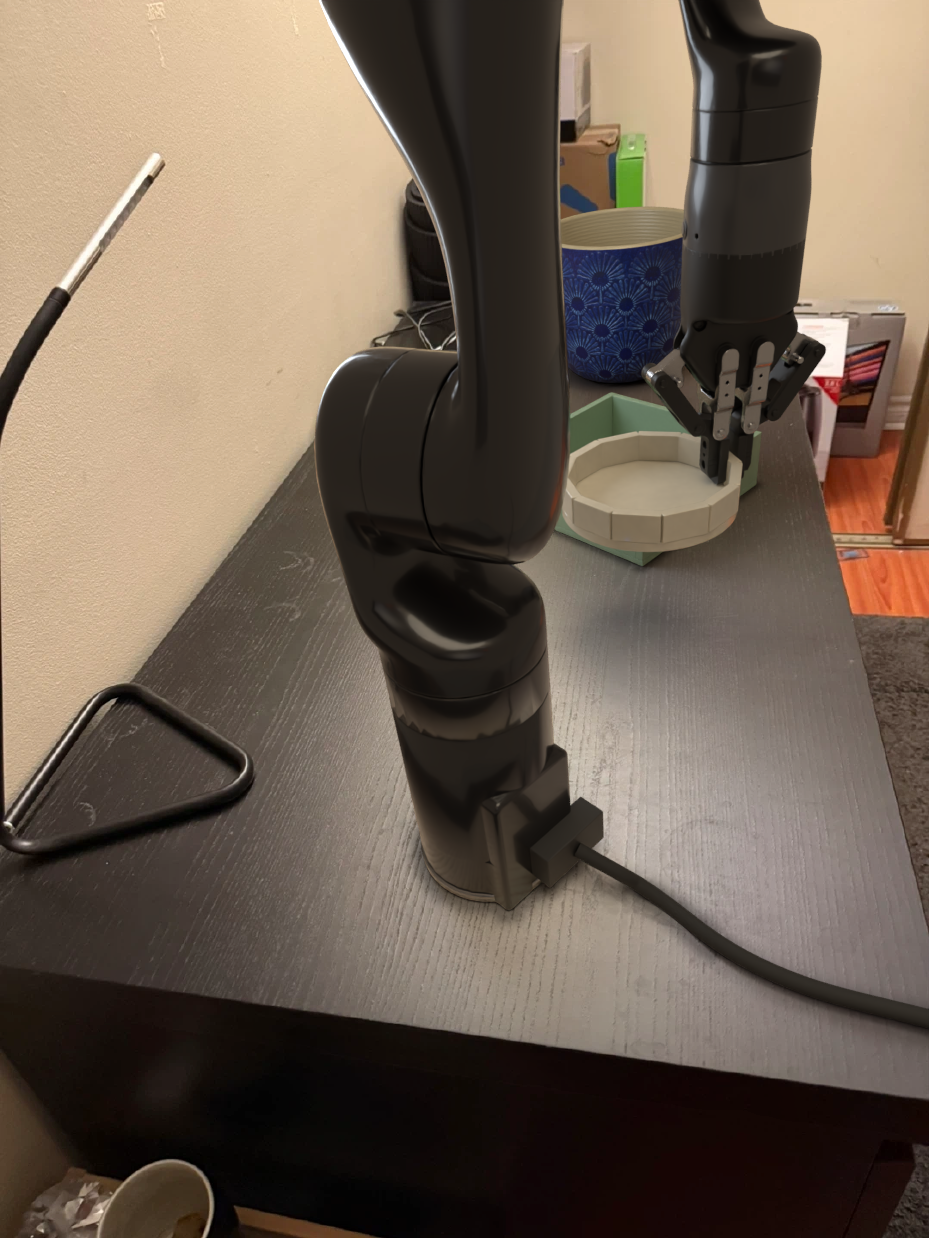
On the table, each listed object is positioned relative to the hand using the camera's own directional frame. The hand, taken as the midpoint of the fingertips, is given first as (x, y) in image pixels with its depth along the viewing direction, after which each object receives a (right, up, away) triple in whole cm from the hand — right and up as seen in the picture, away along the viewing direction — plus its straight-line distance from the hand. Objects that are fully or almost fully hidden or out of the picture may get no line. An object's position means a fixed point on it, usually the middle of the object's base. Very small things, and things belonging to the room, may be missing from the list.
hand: (724, 476), depth 64 cm
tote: (-2, +3, +27) cm, 28 cm away
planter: (+2, +24, +56) cm, 61 cm away
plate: (-6, -2, 0) cm, 6 cm away
